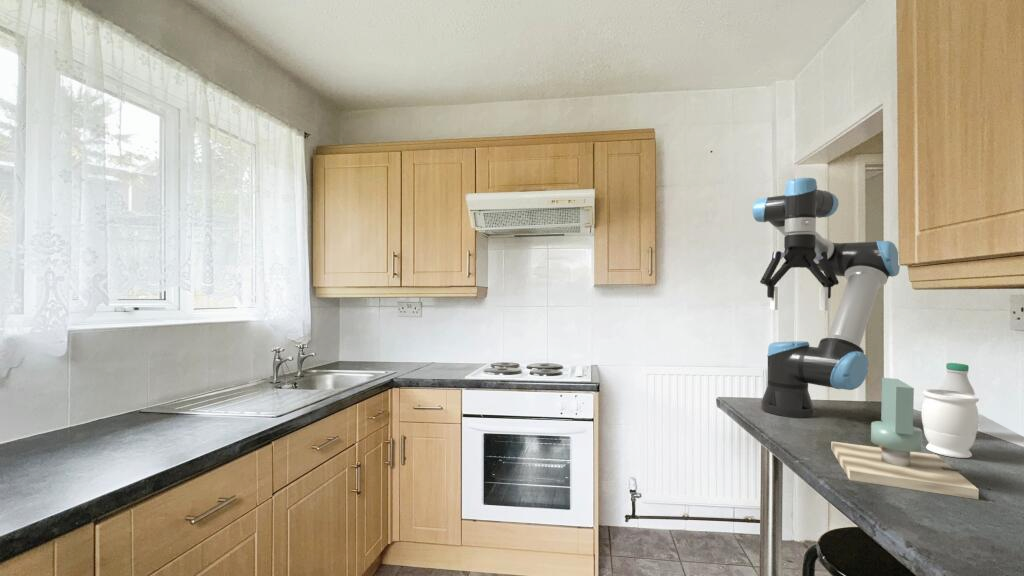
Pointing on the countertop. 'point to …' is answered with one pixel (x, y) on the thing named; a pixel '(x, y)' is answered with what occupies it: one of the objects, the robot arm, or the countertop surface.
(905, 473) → the base
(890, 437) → the mint bar with ball
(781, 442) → the countertop surface
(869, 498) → the countertop surface
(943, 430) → the jar
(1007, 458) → the countertop surface
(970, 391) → the milk bottle
